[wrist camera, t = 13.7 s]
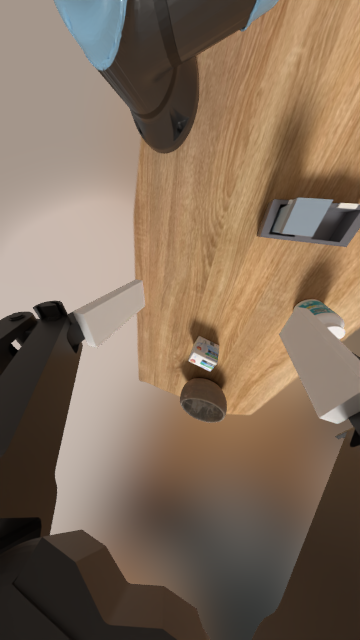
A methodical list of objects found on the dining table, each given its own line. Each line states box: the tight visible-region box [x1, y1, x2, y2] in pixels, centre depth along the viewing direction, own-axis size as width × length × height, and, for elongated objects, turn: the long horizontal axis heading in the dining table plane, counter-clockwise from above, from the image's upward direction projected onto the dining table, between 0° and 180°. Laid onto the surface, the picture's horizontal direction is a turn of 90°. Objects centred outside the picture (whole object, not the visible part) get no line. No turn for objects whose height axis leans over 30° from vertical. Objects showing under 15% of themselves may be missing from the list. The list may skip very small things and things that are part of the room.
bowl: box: [180, 378, 227, 422], centre depth 74 cm, size 24×24×15 cm
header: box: [257, 199, 360, 247], centre depth 31 cm, size 7×18×6 cm, turn 84°
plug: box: [270, 198, 333, 237], centre depth 28 cm, size 5×5×13 cm
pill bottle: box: [293, 299, 345, 339], centre depth 38 cm, size 8×7×14 cm
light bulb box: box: [188, 336, 219, 371], centre depth 59 cm, size 11×7×11 cm, turn 71°
